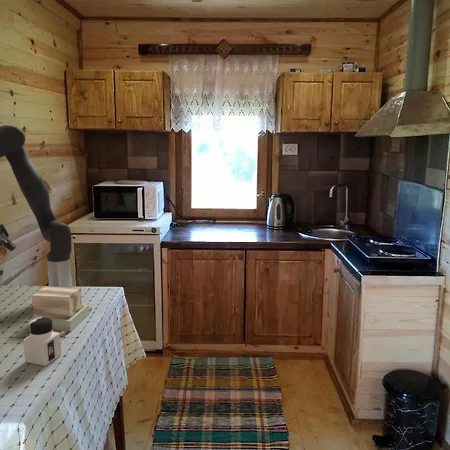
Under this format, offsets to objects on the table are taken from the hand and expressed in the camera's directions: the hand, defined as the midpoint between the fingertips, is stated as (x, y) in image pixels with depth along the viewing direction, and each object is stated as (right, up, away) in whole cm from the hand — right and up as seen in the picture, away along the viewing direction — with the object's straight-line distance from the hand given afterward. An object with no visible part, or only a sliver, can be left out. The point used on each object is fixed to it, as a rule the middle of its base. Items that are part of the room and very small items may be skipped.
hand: (14, 248), depth 171 cm
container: (+23, -33, -30) cm, 50 cm away
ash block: (+18, -27, -1) cm, 33 cm away
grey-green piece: (+22, -27, -2) cm, 35 cm away
